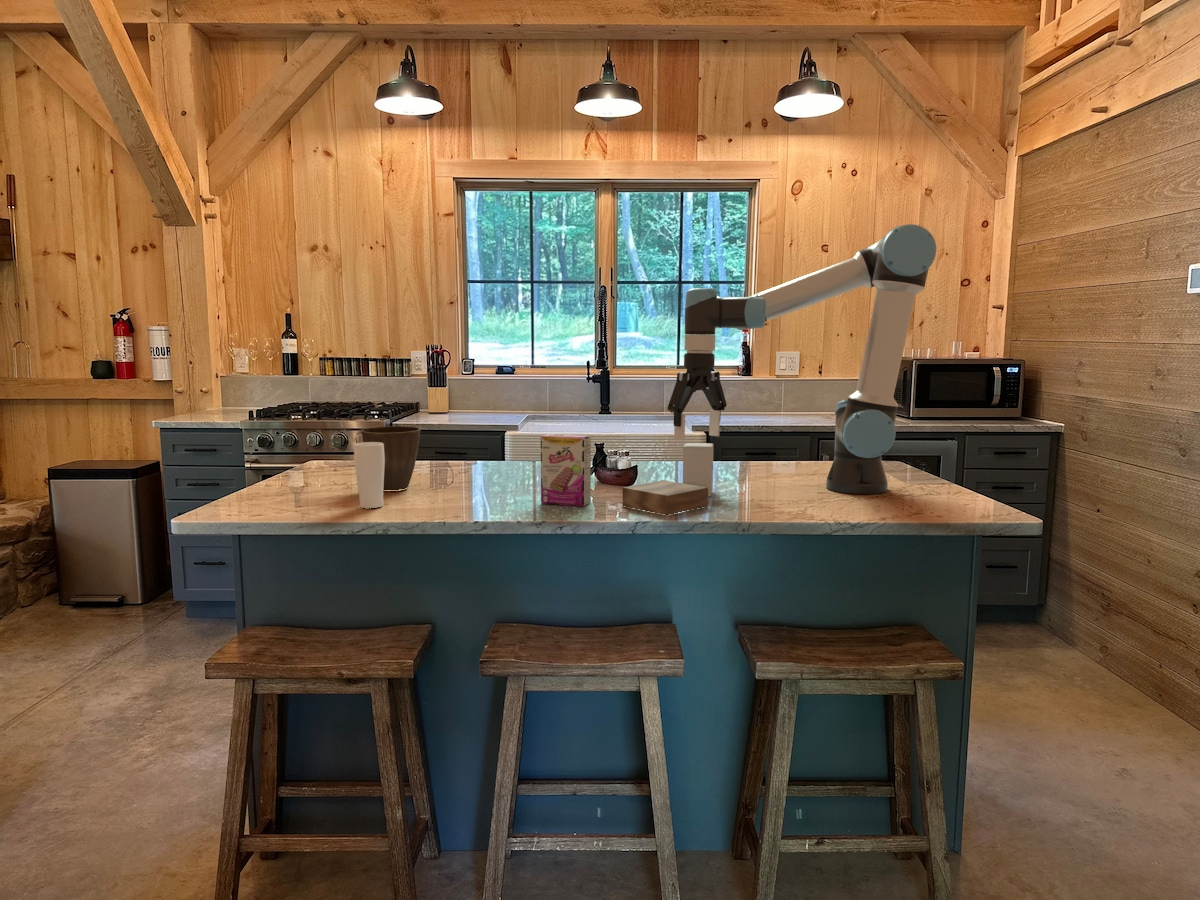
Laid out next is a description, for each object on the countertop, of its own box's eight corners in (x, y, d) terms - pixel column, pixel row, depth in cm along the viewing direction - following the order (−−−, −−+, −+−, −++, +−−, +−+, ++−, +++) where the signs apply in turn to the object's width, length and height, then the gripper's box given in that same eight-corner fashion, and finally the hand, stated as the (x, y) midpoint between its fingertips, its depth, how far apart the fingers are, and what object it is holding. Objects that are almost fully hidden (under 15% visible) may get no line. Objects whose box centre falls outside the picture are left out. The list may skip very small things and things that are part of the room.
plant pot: (434, 488, 208) (432, 428, 206) (391, 497, 195) (389, 433, 193) (394, 482, 216) (392, 425, 214) (351, 491, 203) (348, 430, 201)
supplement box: (711, 497, 194) (712, 446, 192) (681, 496, 195) (682, 445, 193) (713, 491, 201) (714, 442, 199) (684, 490, 202) (685, 442, 201)
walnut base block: (707, 508, 182) (708, 487, 181) (667, 518, 172) (667, 495, 172) (663, 500, 192) (663, 480, 191) (622, 508, 182) (622, 487, 182)
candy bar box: (540, 504, 186) (539, 435, 183) (548, 500, 190) (547, 433, 188) (584, 507, 182) (583, 437, 180) (591, 503, 187) (591, 435, 184)
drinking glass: (359, 511, 179) (356, 446, 177) (354, 506, 184) (351, 443, 182) (389, 508, 182) (386, 444, 180) (383, 503, 188) (380, 441, 186)
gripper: (718, 352, 204) (716, 432, 207) (654, 352, 187) (652, 440, 190) (742, 352, 199) (739, 435, 202) (677, 352, 182) (675, 443, 185)
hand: (697, 437), depth 196 cm, fingers open, 13 cm apart
